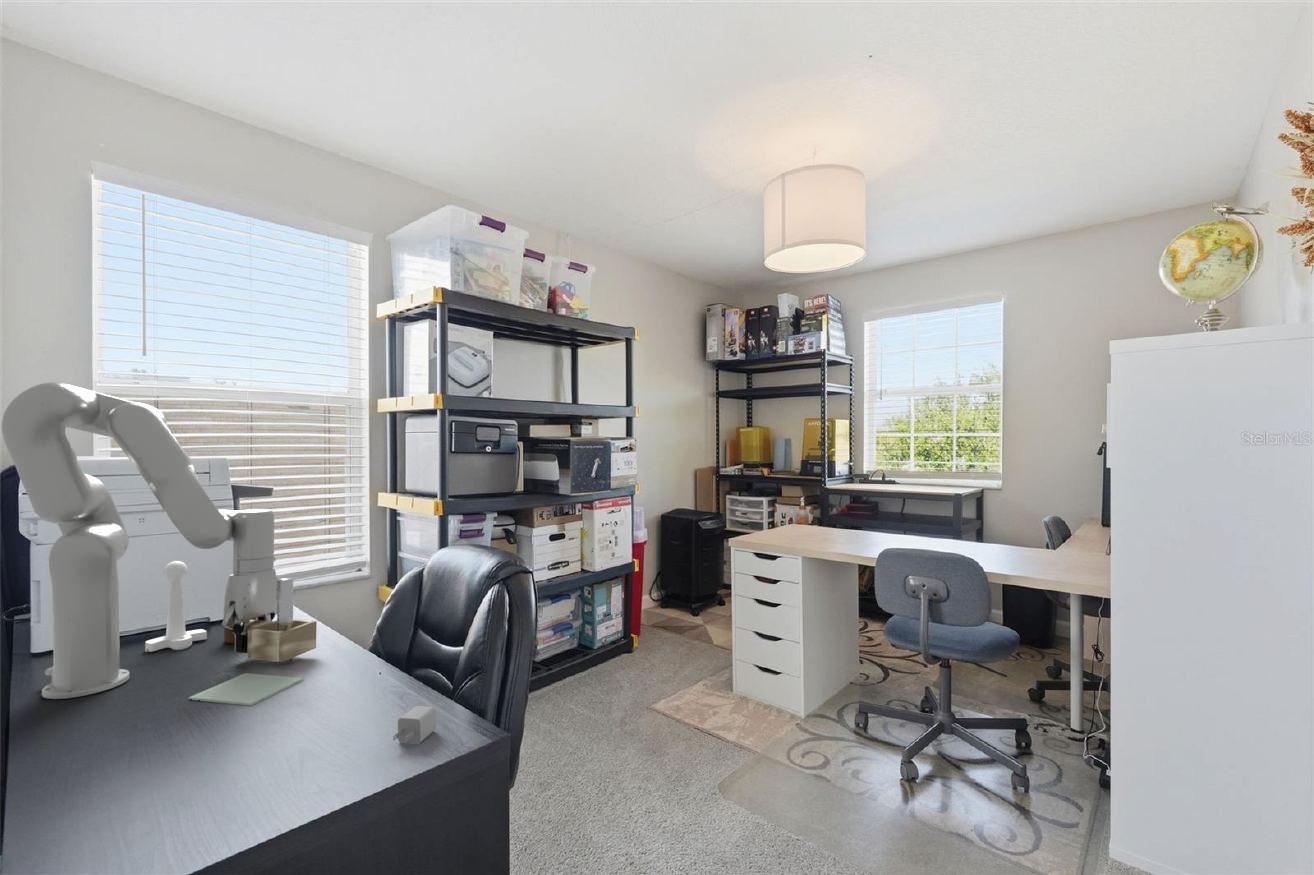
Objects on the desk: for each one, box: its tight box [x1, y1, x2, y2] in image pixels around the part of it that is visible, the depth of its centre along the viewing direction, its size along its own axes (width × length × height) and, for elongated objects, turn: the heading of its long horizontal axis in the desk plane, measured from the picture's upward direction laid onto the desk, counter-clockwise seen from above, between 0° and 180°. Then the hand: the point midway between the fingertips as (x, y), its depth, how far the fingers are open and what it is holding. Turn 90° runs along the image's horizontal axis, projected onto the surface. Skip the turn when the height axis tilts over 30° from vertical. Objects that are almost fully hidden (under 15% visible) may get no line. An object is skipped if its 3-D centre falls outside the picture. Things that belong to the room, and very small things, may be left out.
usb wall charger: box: [392, 705, 437, 745], centre depth 96 cm, size 4×7×4 cm, turn 170°
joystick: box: [144, 560, 208, 653], centre depth 143 cm, size 11×8×20 cm
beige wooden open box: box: [234, 618, 318, 662], centre depth 132 cm, size 15×9×6 cm, turn 77°
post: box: [276, 577, 295, 665], centre depth 132 cm, size 3×3×18 cm
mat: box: [188, 672, 304, 707], centre depth 117 cm, size 14×12×1 cm
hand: (252, 647), depth 133 cm, fingers closed on beige wooden open box, 4 cm apart
